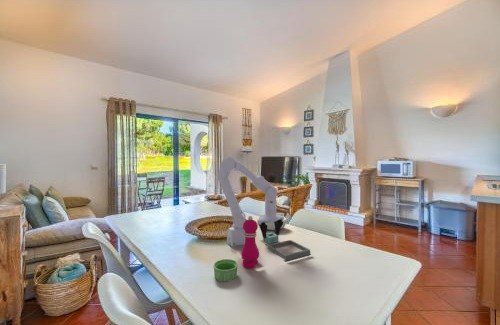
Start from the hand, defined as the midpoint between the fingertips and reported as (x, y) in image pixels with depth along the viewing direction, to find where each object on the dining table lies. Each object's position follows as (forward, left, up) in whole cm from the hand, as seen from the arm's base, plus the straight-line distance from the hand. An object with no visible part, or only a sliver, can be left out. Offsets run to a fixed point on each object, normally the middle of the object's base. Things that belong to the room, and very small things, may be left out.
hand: (270, 236), depth 116 cm
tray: (+1, -13, -4) cm, 14 cm away
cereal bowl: (+14, +19, -4) cm, 24 cm away
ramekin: (-32, -18, -4) cm, 37 cm away
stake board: (0, 0, -4) cm, 4 cm away
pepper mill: (-20, -15, -4) cm, 25 cm away
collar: (0, 0, -3) cm, 3 cm away
